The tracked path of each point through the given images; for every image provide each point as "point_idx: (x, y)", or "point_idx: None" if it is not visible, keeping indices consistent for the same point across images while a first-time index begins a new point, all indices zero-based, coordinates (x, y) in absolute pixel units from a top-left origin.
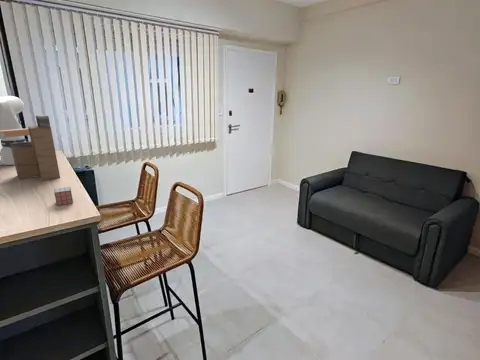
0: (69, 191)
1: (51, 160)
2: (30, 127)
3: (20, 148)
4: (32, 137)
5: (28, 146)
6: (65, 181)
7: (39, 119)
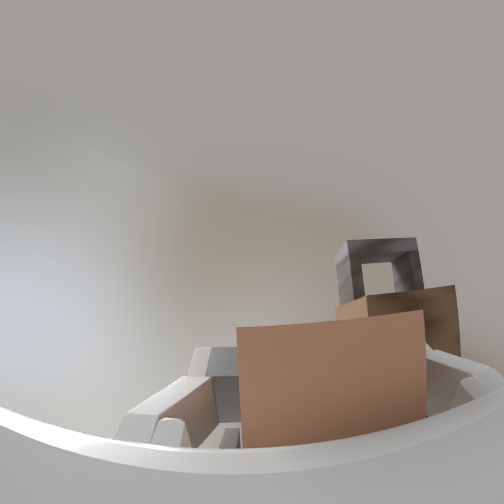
0: None
1: None
2: (416, 290)
3: None
4: (445, 346)
5: None
6: None
7: (418, 252)
